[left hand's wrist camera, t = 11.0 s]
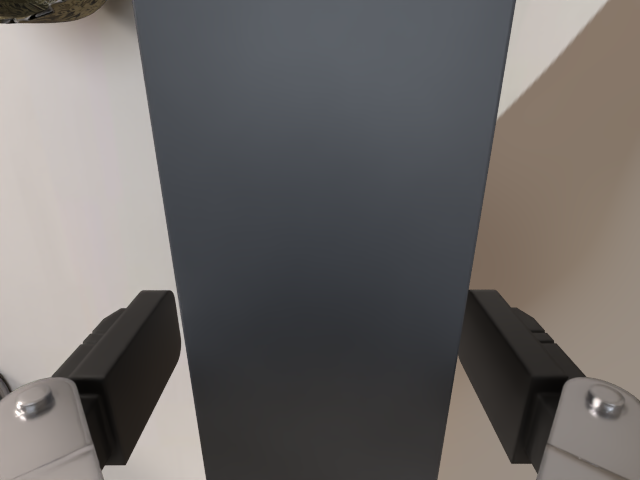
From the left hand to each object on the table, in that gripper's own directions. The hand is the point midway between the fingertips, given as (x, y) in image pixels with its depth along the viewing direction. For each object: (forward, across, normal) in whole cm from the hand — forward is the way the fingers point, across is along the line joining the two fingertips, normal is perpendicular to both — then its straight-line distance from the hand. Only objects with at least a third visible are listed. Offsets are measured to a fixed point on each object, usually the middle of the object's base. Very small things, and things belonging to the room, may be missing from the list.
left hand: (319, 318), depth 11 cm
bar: (+5, 0, +11) cm, 12 cm away
